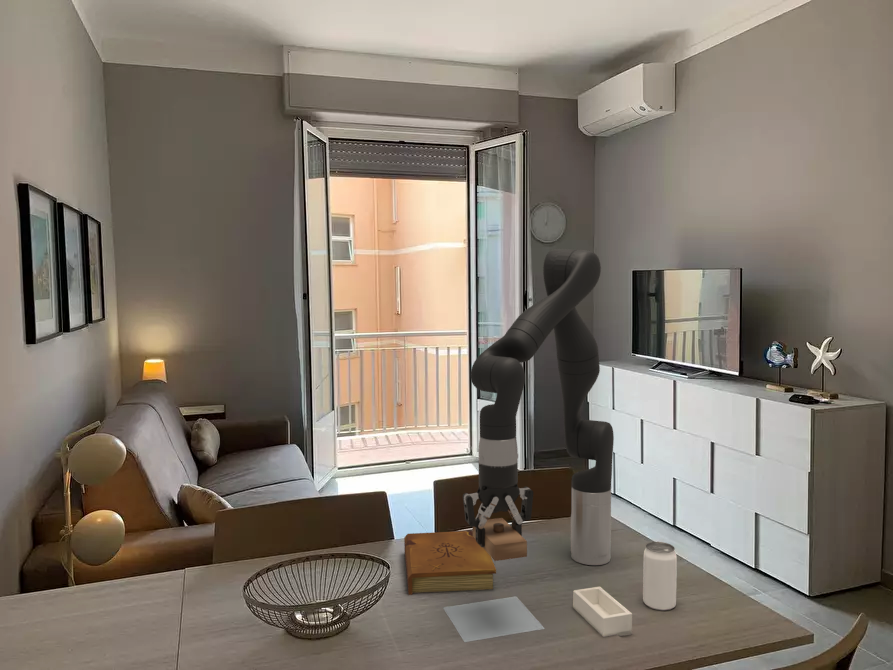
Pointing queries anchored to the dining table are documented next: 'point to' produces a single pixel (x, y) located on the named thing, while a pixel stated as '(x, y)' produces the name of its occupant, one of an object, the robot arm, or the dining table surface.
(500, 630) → the mat
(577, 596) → the dish
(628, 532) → the dining table surface
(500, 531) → the lid
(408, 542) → the diary
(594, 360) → the robot arm
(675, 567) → the can
